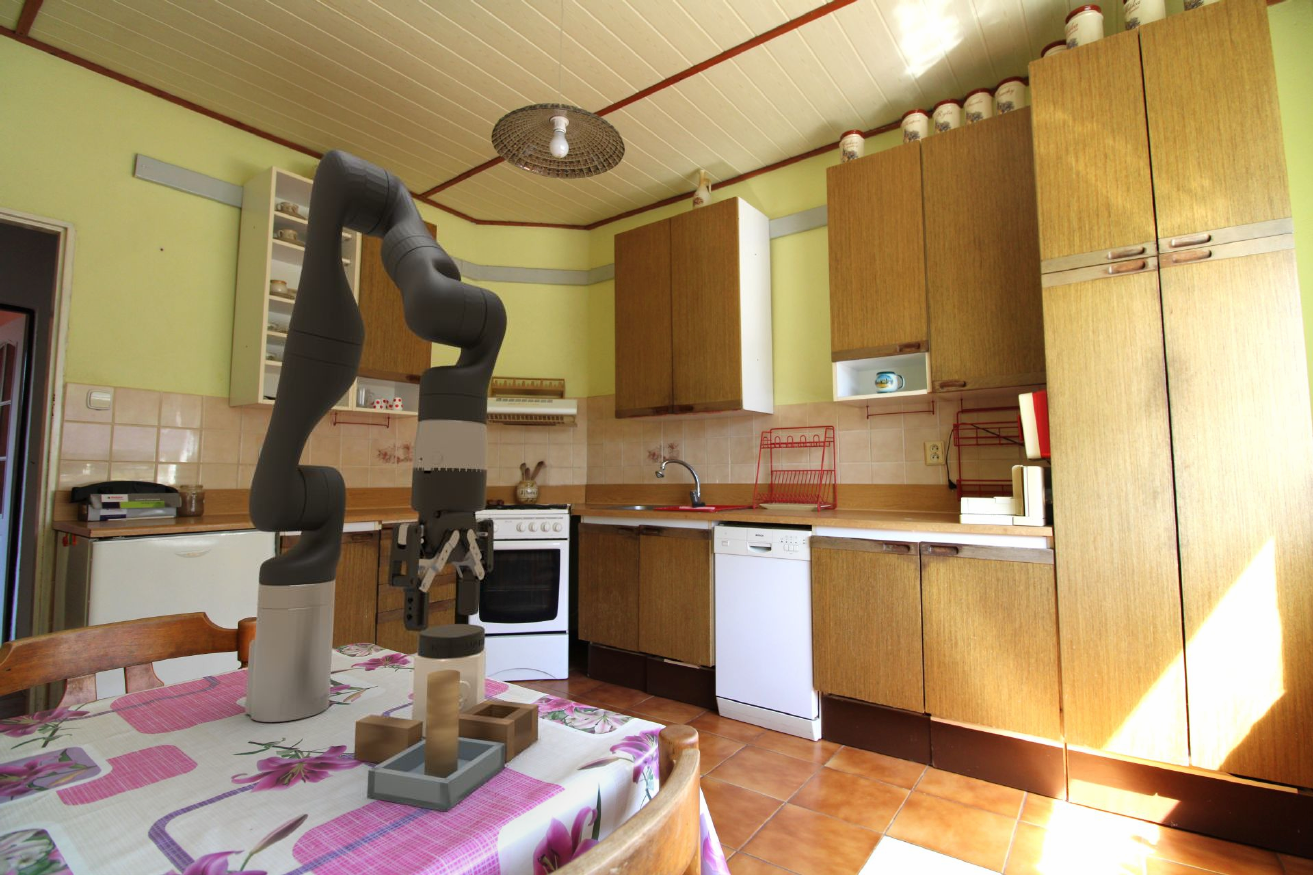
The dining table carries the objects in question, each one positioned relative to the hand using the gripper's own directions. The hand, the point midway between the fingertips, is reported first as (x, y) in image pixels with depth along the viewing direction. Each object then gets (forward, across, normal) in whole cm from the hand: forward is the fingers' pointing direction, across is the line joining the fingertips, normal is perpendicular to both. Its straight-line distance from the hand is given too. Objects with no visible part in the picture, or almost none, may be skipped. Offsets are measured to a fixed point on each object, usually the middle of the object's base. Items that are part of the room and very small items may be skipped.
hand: (443, 621), depth 66 cm
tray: (+16, 0, 0) cm, 16 cm away
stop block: (+16, -3, -9) cm, 18 cm away
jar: (+16, -13, -8) cm, 22 cm away
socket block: (+16, -10, +1) cm, 19 cm away
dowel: (+15, 0, 0) cm, 15 cm away
